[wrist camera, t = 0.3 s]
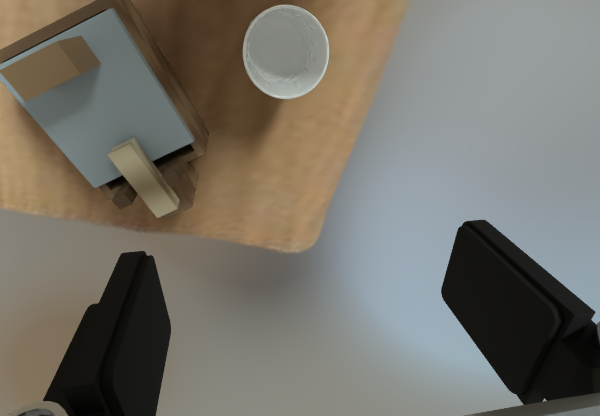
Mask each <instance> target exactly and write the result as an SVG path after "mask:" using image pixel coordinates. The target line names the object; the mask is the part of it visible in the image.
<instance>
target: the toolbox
mask: <svg viewBox="0 0 600 416" xmlns="http://www.w3.org/2000/svg"><path fill="white" fill-rule="evenodd" d="M110 8H114V10H115V11H116V13H117V14H118V16H119V18H120V19H121V21H122V22H123V24H124V26H125V27H126V29H127V30H128V32H129V34H130V35H131V37H132V39H133V40H134V42H135V43H136V45H137V47H138V48H139V50H140V51H141V53H142V55H143V56H144V58H145V59H146V61H147V63H148V64H149V66H150V67H151V69H152V71H153V72H154V74H155V76H156V77H157V79H158V80H159V82H160V84H161V85H162V87H163V88H164V90H165V92H166V93H167V95H168V96H169V98H170V100H171V101H172V103H173V105H174V106H175V108H176V109H177V111H178V113H179V114H180V116H181V117H182V119H183V121H184V122H185V124H186V125H187V127H188V129H189V130H190V132H191V133H192V135H193V137H194V138H195V139H194V142H192V143H190V144H188V145H186V146H183V147H181V148H179V149H177V150H175V151H173V152H171V153H169V154H167V155H164V156H162V157H160V158H158V159H156V160H154V161H152V162H153V164H154V165H155V166H156V168H157V169H158V170H159V172H160V173H161V175H162V178H163V179H164V181H165V182H166V183H167V185H168V186H169V187H171V188H172V190H173V191H174V193H175V194H176V195H177V197H178V198H179V199H180V201H179V205H178V209H176V210H174V211H172V212H170V213H168V214H166V215H163V216H162V217H163V219H166V218H169V217H171V216H173V215H175V214H177V213H179V212H182V211H184V210H186V209H188V208H190V207H192V205H193V200H194V195H195V190H196V185H197V180H198V175H197V173H196V172H195V170H194V169H193V167H192V166H191V164H190V163H189V161H191V160H193V159H196V158H198V157H200V156H202V155H204V154H205V153H206V147H207V141H208V136H209V132H208V131H207V129H206V127H205V126H204V124H203V122H202V121H201V119H200V117H199V115H198V114H197V112H196V110H195V109H194V107H193V105H192V104H191V102H190V100H189V99H188V97H187V95H186V93H185V92H184V90H183V88H182V87H181V85H180V83H179V82H178V80H177V78H176V77H175V75H174V73H173V71H172V70H171V68H170V66H169V65H168V63H167V61H166V60H165V58H164V56H163V55H162V53H161V51H160V49H159V48H158V46H157V44H156V43H155V41H154V39H153V38H152V36H151V34H150V33H149V31H148V29H147V27H146V26H145V24H144V22H143V21H142V19H141V17H140V16H139V14H138V12H137V11H136V9H135V7H134V5H133V4H132V2H131V0H96V1H95V2H93V3H91V4H89V5H87V6H85V7H83V8H81V9H79V10H77V11H75V12H73V13H71V14H69V15H67V16H65V17H63V18H61V19H59V20H57V21H56V22H54V23H52V24H50V25H48V26H46V27H44V28H42V29H40V30H38V31H36V32H34V33H32V34H30V35H28V36H26V37H24V38H22V39H20V40H18V41H17V42H15V43H13V44H11V45H9V46H7V47H5V48H3V49H1V50H0V64H2V63H4V62H6V61H8V60H10V59H12V58H14V57H16V56H18V55H20V54H22V53H24V52H26V51H28V50H30V49H32V48H34V47H35V46H37V45H39V44H41V43H43V42H45V41H47V40H49V39H51V38H53V37H55V36H57V35H59V34H61V33H63V32H65V31H67V30H69V29H71V28H73V27H75V26H77V25H79V24H81V23H83V22H85V21H87V20H88V19H90V18H92V17H94V16H96V15H98V14H100V13H102V12H104V11H106V10H108V9H110ZM99 188H100V189H101V190H102V191H103V193H104V194H105V195H106V196H107V197H108V198H109V199H110V198H112V197H114V196H115V197H114V198H113V200H112V201H113V202H114V203H115V204H116V205H117V206H118V208H119V209H122V208H124V207H126V206H129V205H131V204H132V203H133V201H134V199H135V197H136V195H137V192H136V191H135V189H134V188H133V187H132V186H131V184H130V183H129V182H128V181H127V179H126V178H125V177H124V176H123V175H122V176H120V177H118V178H116V179H114V180H111V181H109V182H107V183H105V184H103V185H101V186H99Z"/></svg>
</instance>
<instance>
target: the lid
mask: <svg viewBox="0 0 600 416" xmlns="http://www.w3.org/2000/svg"><path fill="white" fill-rule="evenodd" d="M0 81H1V82H2V83H3V84H4V85H5V86H6V88H7V89H8V90H9V91H10V92H11V93H12V95H13V96H14V97H15V98H16V99H17V100H18V101H19V103H20V104H21V105H22V106H23V107H24V108H25V109H26V111H27V112H28V113H29V114H30V115H31V116H32V117H33V119H34V120H35V121H36V122H37V123H38V124H39V125H40V127H41V128H42V129H43V130H44V131H45V132H46V134H47V135H48V136H49V137H50V138H51V139H52V140H53V142H54V143H55V144H56V145H57V146H58V147H59V148H60V150H61V151H62V152H63V153H64V154H65V155H66V156H67V158H68V159H69V160H70V161H71V162H72V163H73V164H74V166H75V167H76V168H77V169H78V170H79V171H80V173H81V174H82V175H83V176H84V177H85V178H86V179H87V181H88V182H89V183H90V184H91V185H92V186H93V187H94V188H97V187H99V186H101V185H103V184H105V183H107V182H109V181H111V180H114V179H116V178H118V177H120V176H122V175H123V174H122V173H121V172H120V171H119V169H118V168H117V167H116V166H115V164H114V163H113V162H112V161H111V159H110V158H109V157H108V156H107V154H108V153H109V152H110V151H111V150H112V148H113V147H115V146H117V145H119V144H121V143H124V142H126V141H128V140H130V139H132V138H134V137H135V139H136V140H137V141H138V143H139V144H140V146H141V147H142V148H143V150H144V151H145V153H146V154H147V155H148V157H149V158H150V159H151V161H154V160H156V159H158V158H160V157H162V156H164V155H167V154H169V153H171V152H173V151H175V150H177V149H179V148H181V147H183V146H186V145H188V144H190V143H192V142H194V139H195V138H194V137H193V135H192V133H191V132H190V130H189V129H188V127H187V125H186V124H185V122H184V121H183V119H182V117H181V116H180V114H179V113H178V111H177V109H176V108H175V106H174V105H173V103H172V101H171V100H170V98H169V96H168V95H167V93H166V92H165V90H164V88H163V87H162V85H161V84H160V82H159V80H158V79H157V77H156V76H155V74H154V72H153V71H152V69H151V67H150V66H149V64H148V63H147V61H146V59H145V58H144V56H143V55H142V53H141V51H140V50H139V48H138V47H137V45H136V43H135V42H134V40H133V39H132V37H131V35H130V34H129V32H128V30H127V29H126V27H125V26H124V24H123V22H122V21H121V19H120V18H119V16H118V14H117V13H116V11H115V10H114V8H110V9H108V10H106V11H104V12H102V13H100V14H98V15H96V16H94V17H92V18H90V19H88V20H87V21H85V22H83V23H81V24H79V25H77V26H75V27H73V28H71V29H69V30H67V31H65V32H63V33H61V34H59V35H57V36H55V37H53V38H51V39H49V40H47V41H45V42H43V43H41V44H39V45H37V46H35V47H34V48H32V49H30V50H28V51H26V52H24V53H22V54H20V55H18V56H16V57H14V58H12V59H10V60H8V61H6V62H4V63H2V64H0Z"/></svg>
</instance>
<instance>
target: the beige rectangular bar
mask: <svg viewBox="0 0 600 416" xmlns="http://www.w3.org/2000/svg"><path fill="white" fill-rule="evenodd" d="M107 156H108V157H109V158H110V159H111V161H112V162H113V163H114V164H115V166H116V167H117V168H118V169H119V171H120V172H121V173H122V174H123V176H124V177H125V178H126V179H127V181H128V182H129V183H130V184H131V186H132V187H133V188H134V189H135V191H136V192H137V193H138V195H139V196H140V197H141V198H142V200H143V201H144V202H145V203H146V205H147V206H148V207H149V208H150V210H151V211H152V212H153V213H154V215H155V216H156V217H157V218H159V217H161V216H163V215H166V214H168V213H170V212H172V211H174V210H176V209H178V205H179V201H180V199H179V198H178V197H177V195H176V194H175V193H174V191H173V190H172V188H171V187H169V186H168V185H167V183H166V182H165V181H164V179H163V178H162V175H161V173H160V172H159V170H158V169H157V168H156V166H155V165H154V164H153V162H152V161H151V159H150V158H149V157H148V155H147V154H146V153H145V151H144V150H143V148H142V147H141V146H140V144H139V143H138V141H137V140H136V139H135V137H134V138H132V139H130V140H128V141H126V142H124V143H121V144H119V145H117V146H115V147H113V148H112V150H111V151H110V152H109V153H108V154H107Z"/></svg>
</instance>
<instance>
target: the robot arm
mask: <svg viewBox="0 0 600 416" xmlns="http://www.w3.org/2000/svg"><path fill="white" fill-rule="evenodd" d="M441 293H442V297H443V299H444V301H445V302H446V304H447V305H448V307H449V308H450V309H451V311H452V312H453V314H454V315H455V316H456V318H457V319H458V320H459V322H460V323H461V325H462V326H463V327H464V329H465V330H466V332H467V333H468V334H469V336H470V337H471V338H472V340H473V341H474V342H475V344H476V345H477V347H478V348H479V349H480V351H481V352H482V354H483V355H484V356H485V358H486V359H487V361H488V362H489V363H490V365H491V366H492V367H493V369H494V370H495V371H496V373H497V374H498V376H499V377H500V378H501V380H502V381H503V383H504V384H505V385H506V387H507V388H508V389H509V390H510V391H511V392H512V393H514V394H516V395H517V396H518V397H519V399H520V400H521V402H522V403H523V404H524V405H522V406H516V407H510V408H504V409H499V410H493V411H487V412H482V413H476V414H470V415H465V416H600V322H599V323H598V324H597V325H596V324H595V323H594V322H593V321H592V320H591V319H592V317H593V315H594V314H595V311H593V310H592V309H591V308H590V307H589V306H588V305H586V304H585V303H584V302H583V301H582V300H580V299H579V298H578V297H577V296H576V295H575V294H573V293H572V292H571V291H570V290H568V289H567V288H566V287H565V286H564V285H563V284H561V283H560V282H559V281H558V280H557V279H555V278H554V277H553V276H552V275H551V274H549V273H548V272H547V271H546V270H545V269H543V268H542V267H541V266H540V265H538V264H537V263H536V262H535V261H534V260H533V259H531V258H530V257H529V256H528V255H527V254H526V253H524V252H523V251H522V250H521V249H520V248H518V247H517V246H516V245H515V244H514V243H512V242H511V241H510V240H509V239H508V238H506V237H505V236H504V235H503V234H501V233H500V232H499V231H498V230H497V229H496V228H494V227H493V226H492V225H491V224H490V223H488V222H487V221H486V220H474V221H466V222H464V223H463V225H462V226H461V227H459V228H458V231H457V235H456V238H455V242H454V245H453V249H452V253H451V256H450V260H449V264H448V267H447V271H446V274H445V278H444V282H443V285H442V290H441ZM170 325H171V324H170V319H169V316H168V312H167V308H166V304H165V300H164V296H163V292H162V288H161V284H160V280H159V276H158V272H157V268H156V264H155V261H154V257H153V256H152V255H150V256H147V255H146V253H145V252H144V251H138V252H128V253H122V254H121V255H120V257H119V259H118V262H117V264H116V266H115V268H114V271H113V273H112V275H111V277H110V279H109V282H108V284H107V286H106V288H105V291H104V293H103V295H102V297H101V299H100V302H99V303H98V304H92V305H90V306H89V307H88V309H87V310H86V312H85V314H84V316H83V318H82V320H81V322H80V325H79V327H78V329H77V331H76V333H75V335H74V337H73V339H72V341H71V343H70V345H69V348H68V349H67V352H66V354H65V356H64V358H63V360H62V362H61V364H60V366H59V368H58V370H57V372H56V375H55V376H54V379H53V381H52V383H51V385H50V387H49V389H48V391H47V393H46V395H45V397H44V399H43V401H41V402H35V403H31V404H28V405H25V406H23V407H21V408H19V409H17V410H15V411H13V412H11V413H9V414H8V415H7V416H155V415H156V410H157V405H158V399H159V394H160V388H161V383H162V378H163V373H164V367H165V362H166V356H167V351H168V346H169V340H170V334H171V326H170ZM544 398H545V399H546V400H547V401H544V402H542V401H543V399H544Z"/></svg>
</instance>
